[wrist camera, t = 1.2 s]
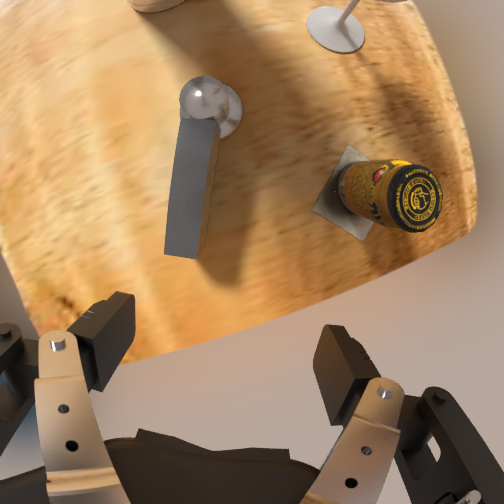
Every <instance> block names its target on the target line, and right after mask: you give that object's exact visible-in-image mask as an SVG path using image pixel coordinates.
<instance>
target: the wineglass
mask: <svg viewBox="0 0 504 504" xmlns="http://www.w3.org/2000/svg"><path fill="white" fill-rule="evenodd" d="M359 1H360V0H351V1H350V2H349V4H348V5H347V7H346V8H345V10H343V9H340V8H337V7H332V6H323V7H318V8H316V9H314V10H313V11H312V12H310V13H309V15H308V17H307V21H306V25H307V30H308V32H309V34H310V35H311V37H312V38H313V39H314V40H315V41H316V42H317V43H318V44H320V45H321V46H323V47H325V48H326V49H329V50H332V51H334V52H340V53H348V52H352V51H355V50H357V49H358V48H359V47H360V46H361V45H362V44H363V41H364V31H363V28H362V26H361V24H360V22H359V21H358V20H357V19H356V18H355V17H354V16H353V15H351V14H350V13H351V12H352V11H353V9H354V8H355V6H356V5H357V4H358V2H359ZM377 1H383V2H390V3H395V2H403V1H407V0H377Z"/></svg>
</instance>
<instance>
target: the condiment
mask: <svg viewBox="0 0 504 504" xmlns="http://www.w3.org/2000/svg"><path fill="white" fill-rule="evenodd" d="M334 191H335V192H334ZM442 198H443V194H442V190H441V186H440V184H439V181H438V179H437V178H436V176H435V175H434V174H433V173H432V172H431V171H430V170H429V169H428V168H426V167H423V166H420V165H416V164H411V163H409V162H407V161H404V160H396V159H395V160H393V159H389V160H369V159H368V158H367V157H365V156H364V155H362V154H361V153H360V152H358V151H357V150H355V149H354V148H353V147H351V146H350V145H348V146H347V148H346V150H345V151H344V153H343V155H342V157H341V159H340V161H339V162H338V164H337V166H336V168H335V170H334V171H333V173H332V175H331V177H330V179H329V181H328V183H327V185H326V186H325V188H324V190H323V191H322V193H321V195H320V197H319V199H318V201H317V203H316V204H315V206H314V208H313V209H312V211H314V212H316V213H317V214H319V215H321V216H322V217H324V218H326V219H327V220H329V221H331V222H332V223H334V224H336V225H337V226H339V227H340V228H342V229H344V230H345V231H347V232H349V233H350V234H352V235H353V236H355V237H356V238H358V239H360V240H361V241H364V239H365V238H366V236H367V234H368V232H369V231H370V229H371V228H372V226H373V224H374V222H376V223H377V224H380V225H382V226H384V227H387V228H390V229H394V230H405V231H408V232H411V233H412V232H413V233H416V232H423V231H425V230H426V229H428V228H429V227H430V226H431V225H433V224H434V223H435V221H436V220H437V218H438V216H439V213H440V211H441V208H442ZM357 216H358V218H355V217H357ZM359 216H361V217H359Z"/></svg>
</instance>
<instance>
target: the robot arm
mask: <svg viewBox="0 0 504 504" xmlns="http://www.w3.org/2000/svg"><path fill="white" fill-rule="evenodd" d="M127 1H128V3H129V4H130V5H131V6H132V7H133V8H134V9H135V10H137V11H140V12H145V13H153V12H160V11H163V10H167V9H170V8H172V7H174V6H176V5H178V4H180V3H182V2H183V1H185V0H127ZM135 329H136V327H135V297H134V295H132V294H127V293H123V292H118V291H116V292H115V293H114V294H113V295H112V296H111V297H110V298H109V299H108V300H107V301H106V300H102V301H100V302H97V303H95V304H93V305H92V306H91V307H90V308H89V309H88V310H87V311H86V312H85V313H84V314H83V315H82V316H81V317H79V318H78V319H77V320H76V321H75V322H74V323H73V324H72V325H71V326H70V327H69V328H68V329H67V330H66V331H63V330H55V331H50V332H47V333H45V334H44V335H43V336H42V337H41V338H40V340H39V341H35V340H29V339H23V337H22V332H21V329H20V328H19V327H18V326H17V325H15V324H11V323H5V324H0V375H1V373H2V375H3V378H4V380H5V382H4V384H3V385H2V386H1V387H0V456H1V455H2V453H3V451H4V449H5V448H6V446H7V444H8V443H9V441H10V440H11V438H12V436H13V435H14V433H15V432H16V430H17V429H18V427H19V426H20V424H21V422H22V421H23V420H24V418H25V417H26V415H27V414H28V412H29V411H30V409H31V408H32V406H33V405H34V403H35V402H36V414H37V422H38V430H39V437H40V443H41V450H42V454H43V460H44V465H45V466H42V467H39V468H37V469H34V470H31V471H28V472H25V473H22V474H20V475H17V476H13V477H10V478H7V479H4V480H0V504H376V502H377V500H378V498H379V495H380V493H381V490H382V488H383V485H384V483H385V480H386V477H387V474H388V472H389V469H390V466H391V463H392V460H393V457H394V459H395V461H396V464H397V466H398V469H399V471H400V474H401V477H402V479H403V482H404V484H405V487H406V490H407V492H408V495H409V498H410V500H411V503H412V504H504V472H503V470H502V469H501V467H500V465H499V464H498V462H497V461H496V459H495V457H494V456H493V454H492V453H491V451H490V450H489V448H488V446H487V445H486V443H485V442H484V441H483V439H482V437H481V436H480V434H479V433H478V432H477V430H476V428H475V427H474V426H473V424H472V423H471V422H470V420H469V418H468V417H467V416H466V414H465V413H464V411H463V410H462V409H461V407H460V406H459V404H458V403H457V402H456V400H455V399H454V398H453V396H452V395H451V394H450V393H449V392H448V391H446V390H444V389H442V388H439V387H428V388H426V389H425V391H424V393H423V394H422V396H421V397H416V396H410V395H405V394H404V390H403V389H402V387H401V386H400V385H399V384H398V383H396V382H394V381H393V380H390V379H387V378H382V377H381V375H380V374H379V372H378V370H377V369H376V367H375V365H374V364H373V362H372V360H370V357H369V356H368V354H366V351H365V349H364V348H363V346H362V345H361V344H360V343H359V342H358V341H356V340H355V339H354V338H351V337H350V336H349V334H348V333H347V331H346V329H345V327H344V326H339V325H328V324H327V325H325V326H324V328H323V330H322V333H321V336H320V339H319V342H318V345H317V349H316V352H315V355H314V359H313V369H314V373H315V376H316V379H317V382H318V385H319V388H320V391H321V395H322V398H323V401H324V404H325V408H326V411H327V414H328V417H329V420H330V424H331V426H335V425H343V428H344V429H343V431H342V432H341V434H340V436H339V437H338V439H337V441H336V443H335V444H334V446H333V448H332V449H331V451H330V453H329V454H328V456H327V457H326V459H325V461H324V462H323V464H322V465H321V467H320V468H319V470H318V469H317V468H315V467H313V466H311V465H308V464H306V463H303V462H300V461H297V460H293V459H290V455H289V449H269V448H244V449H234V450H223V451H211V450H208V449H205V448H202V447H199V446H196V445H194V444H191V443H188V442H186V441H184V440H181V439H178V438H176V437H173V436H168V435H164V434H159V433H155V432H151V431H147V430H143V429H138V432H137V435H136V437H135V438H131V437H129V438H115V439H109V440H105V441H103V439H102V436H101V434H100V430H99V427H98V424H97V421H96V418H95V415H94V412H93V408H92V405H91V401H90V398H89V392H90V391H91V389H93V390H96V391H100V392H103V390H104V388H105V387H106V385H107V383H108V382H109V380H110V378H111V377H112V375H113V373H114V371H115V370H116V368H117V366H118V365H119V363H120V362H121V360H122V358H123V357H124V355H125V353H126V352H127V350H128V349H129V347H130V345H131V344H132V342H133V340H134V336H135ZM432 436H434V438H435V440H436V442H437V443H438V445H439V447H440V450H441V455H440V458H439V460H438V462H436V460H435V458H434V456H433V454H432V452H431V450H430V448H429V446H428V444H427V443H428V441H429V440H430V439H431V438H432Z"/></svg>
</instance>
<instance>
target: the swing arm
mask: <svg viewBox="0 0 504 504" xmlns="http://www.w3.org/2000/svg"><path fill="white" fill-rule="evenodd" d="M179 101H180V106H181V108H182V110H183V111H184V112H185V113H186V114H187V115H188V116H189V117H190V118H183V117H181V121H180V127H179V133H178V138H177V145H176V151H175V158H174V164H173V172H172V179H171V187H170V195H169V204H168V214H167V224H166V235H165V248H164V254H166V255H172V256H178V257H185V258H191V259H197V258H198V256H199V254H200V253H201V251H202V249H203V247H204V246H205V239H206V231H207V223H208V215H209V208H210V200H211V193H212V186H213V180H214V173H215V166H216V160H217V154H218V147H219V141H220V135H221V130H222V129H221V128H220V126H219V125H221V124H222V123H223V122H224V121H225V120H226V119H227V117H228V116H229V113H230V104H229V100H228V97H227V93H226V89H225V87H224V85H223V84H222V83H221V82H220V81H219V80H218V79H216V78H214V77H210V76H200V77H196V78H194V79H192V80H190V81H189V82H188V83H187V84H186V85H185V86H184V87H183V89H182V90H181V93H180V98H179Z"/></svg>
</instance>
